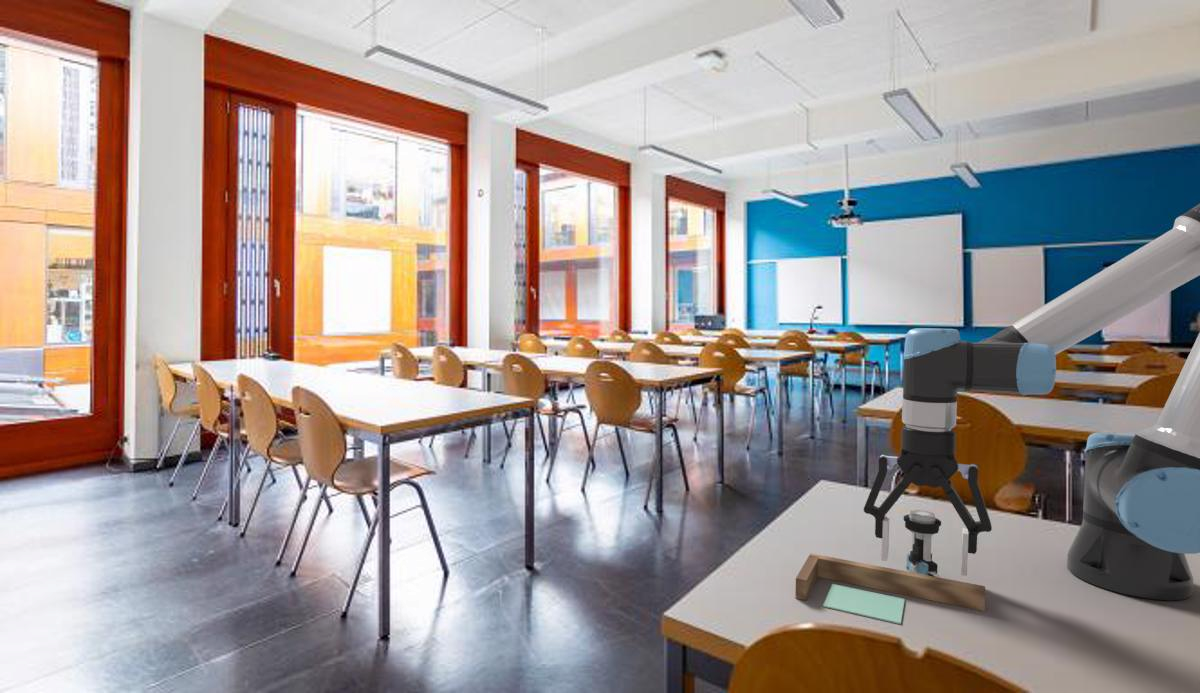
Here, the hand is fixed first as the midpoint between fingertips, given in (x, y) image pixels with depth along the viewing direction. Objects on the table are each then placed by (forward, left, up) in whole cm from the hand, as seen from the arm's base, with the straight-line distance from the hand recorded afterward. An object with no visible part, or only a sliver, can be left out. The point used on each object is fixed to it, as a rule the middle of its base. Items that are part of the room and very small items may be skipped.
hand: (923, 564), depth 99 cm
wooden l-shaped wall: (+4, +12, -2) cm, 13 cm away
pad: (+7, +14, -2) cm, 16 cm away
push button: (0, 0, -2) cm, 2 cm away
